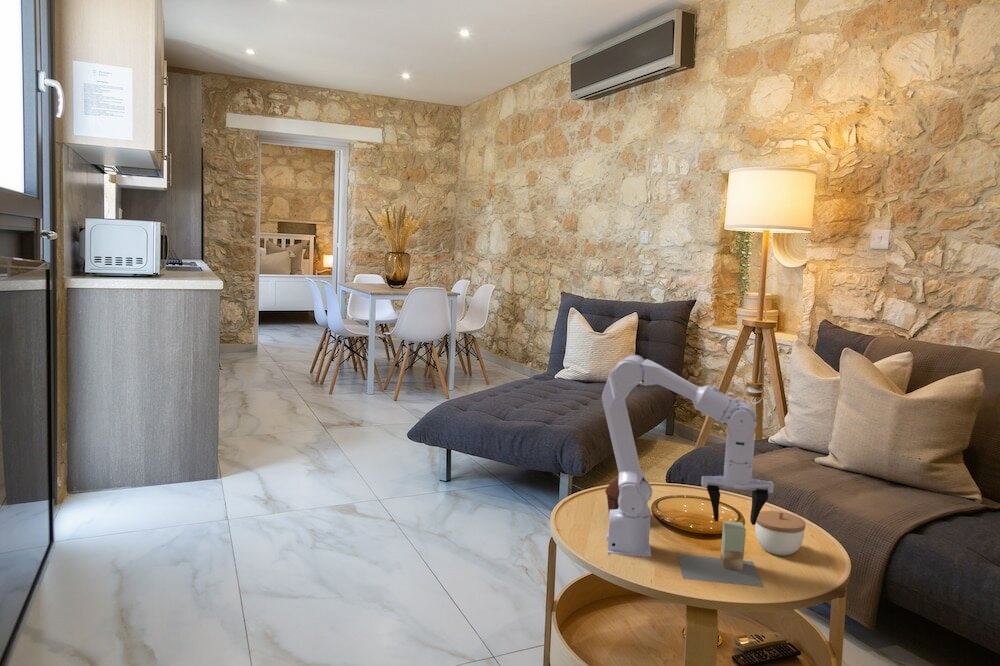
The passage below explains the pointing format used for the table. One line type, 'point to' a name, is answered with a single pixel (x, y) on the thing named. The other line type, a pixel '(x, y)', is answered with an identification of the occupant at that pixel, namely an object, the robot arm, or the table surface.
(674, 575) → the table surface
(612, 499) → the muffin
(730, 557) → the beech cube
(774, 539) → the lidded jar
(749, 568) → the slate mat
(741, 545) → the green block
